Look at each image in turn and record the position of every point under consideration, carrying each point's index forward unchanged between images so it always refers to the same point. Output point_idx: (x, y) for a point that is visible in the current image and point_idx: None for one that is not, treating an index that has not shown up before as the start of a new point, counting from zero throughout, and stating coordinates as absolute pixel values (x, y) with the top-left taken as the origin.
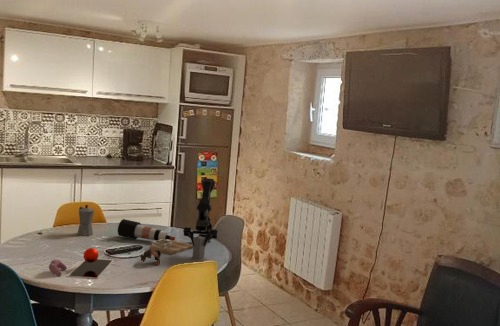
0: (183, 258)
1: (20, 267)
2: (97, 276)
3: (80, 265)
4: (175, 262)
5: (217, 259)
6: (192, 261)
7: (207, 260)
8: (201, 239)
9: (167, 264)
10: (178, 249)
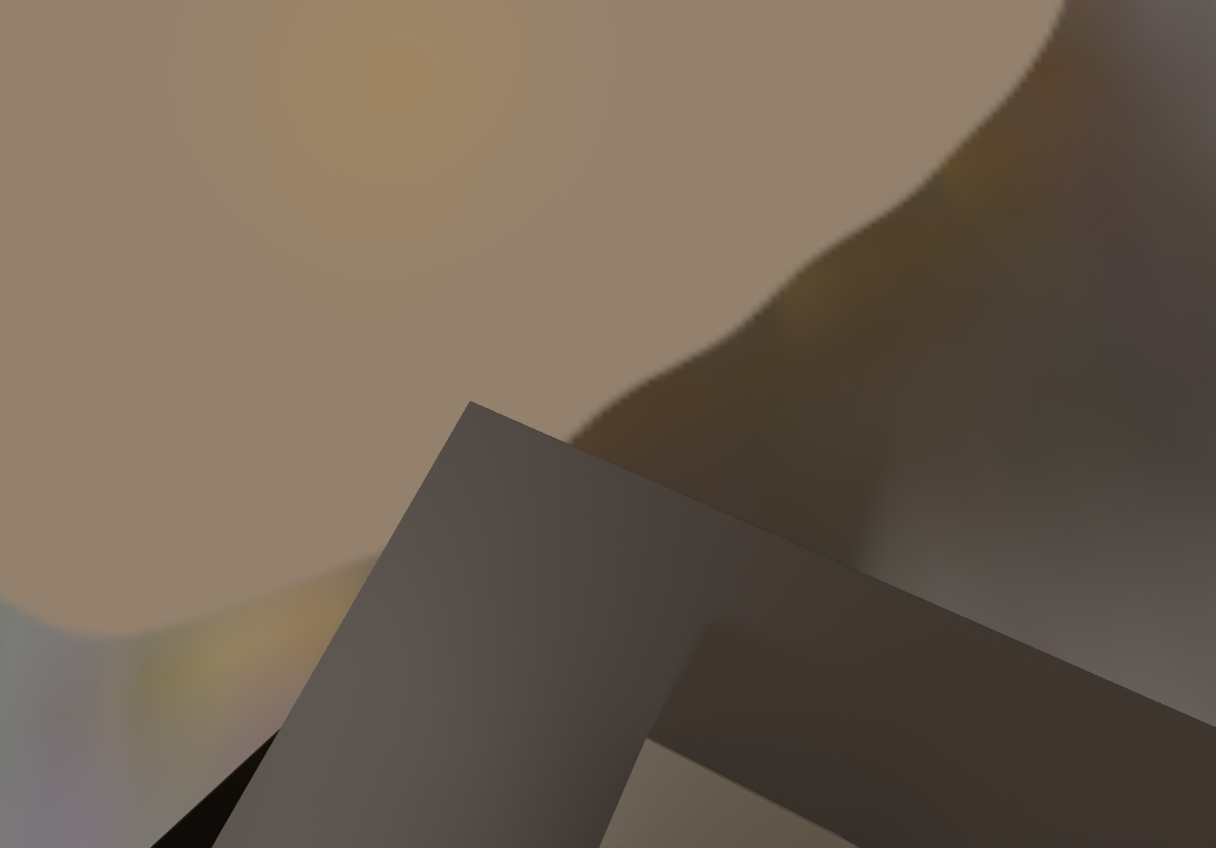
0: (1012, 520)
1: None
2: None
3: None
4: (1050, 176)
5: (81, 776)
6: (713, 366)
7: (360, 577)
8: (414, 542)
9: (1136, 23)
10: None
